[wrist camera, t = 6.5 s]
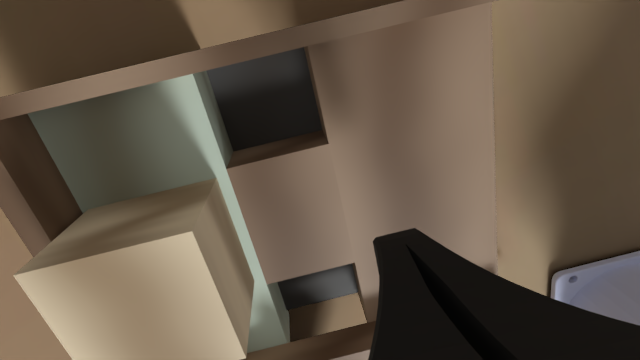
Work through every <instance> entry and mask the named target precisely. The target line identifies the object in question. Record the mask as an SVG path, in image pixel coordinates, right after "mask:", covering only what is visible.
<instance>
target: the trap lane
mask: <svg viewBox="0 0 640 360" xmlns="http://www.w3.org/2000/svg"><path fill="white" fill-rule="evenodd" d="M493 1H497V0H404V1H400V2H396V3H391V4H387V5H383V6H379V7H375V8H371V9H366V10H362V11H358V12H354V13H350V14H346V15H341V16H337V17H333V18H329V19H325V20H321V21H316V22H312V23H308V24H304V25H300V26H296V27H291V28H287V29H283V30H279V31H275V32H270V33H266V34H262V35H258V36H254V37H250V38H245V39H241V40H237V41H233V42H229V43H225V44H220V45H216V46H212V47H208V48H204V49H200V50H195V51H191V52H187V53H183V54H179V55H174V56H170V57H166V58H162V59H158V60H154V61H149V62H145V63H141V64H137V65H133V66H129V67H124V68H120V69H116V70H112V71H108V72H104V73H99V74H95V75H91V76H87V77H83V78H79V79H74V80H70V81H66V82H62V83H58V84H53V85H49V86H45V87H41V88H37V89H33V90H28V91H24V92H20V93H16V94H12V95H8V96H3V97H0V207H1V209H2V210H3V212H4V213H5V215H6V216H7V218H8V219H9V221H10V222H11V224H12V226H13V227H14V229H15V230H16V232H17V233H18V235H19V236H20V238H21V239H22V241H23V242H24V244H25V245H26V247H27V248H28V250H29V251H30V253H31V254H32V256H33V257H35V256H36V255H37V254H38V253H39V252H40V251H42V250H43V249H44V248H45V247H46V246H47V245H48V244H49V243H51V242H52V241H53V240H54V239H55V238H56V237H57V236H59V235H60V234H61V233H62V232H63V231H64V230H65V229H66V228H68V227H69V226H70V225H71V224H72V223H73V222H74V221H75V220H77V219H78V218H79V217H80V216H81V215H82V214H83V213H84V212H86V211H87V210H88V209H92V208H96V207H100V206H104V205H108V204H112V203H116V202H120V201H124V200H128V199H132V198H137V197H141V196H145V195H149V194H153V193H157V192H161V191H165V190H169V189H173V188H177V187H181V186H185V185H189V184H194V183H198V182H202V181H206V180H210V179H214V178H217V180H218V183H219V186H220V188H221V191H222V194H223V197H224V199H225V202H226V205H227V207H228V210H229V213H230V216H231V218H232V221H233V224H234V226H235V229H236V232H237V235H238V237H239V240H240V243H241V246H242V248H243V251H244V254H245V256H246V259H247V262H248V265H249V267H250V270H251V273H252V275H253V278H254V290H253V300H252V309H251V318H250V328H249V337H248V347H247V356H246V358H245V359H241V360H368V358H369V354H370V349H371V345H372V340H373V335H374V330H375V324H376V317H377V309H378V297H379V272H378V267H377V262H376V256H375V251H374V246H373V240H374V239H375V238H376V237H379V236H383V235H387V234H391V233H395V232H399V231H403V230H408V229H412V228H416V229H418V230H419V231H421V232H422V233H424V234H425V235H427V236H429V237H430V238H432V239H433V240H435V241H437V242H438V243H440V244H441V245H443V246H445V247H446V248H448V249H449V250H451V251H453V252H454V253H456V254H458V255H460V256H461V257H463V258H465V259H467V260H468V261H470V262H472V263H474V264H476V265H478V266H480V267H482V268H484V269H486V270H488V271H490V272H491V273H493V274H495V275H497V276H498V268H497V223H496V179H495V135H494V91H493V47H492V2H493ZM357 292H358V293H359V297H360V301H361V304H362V307H363V310H364V314H365V317H366V320H367V323H365V324H361V325H357V326H353V327H349V328H345V329H341V330H337V331H333V332H329V333H325V334H321V335H317V336H313V337H309V338H305V339H301V340H298V341H294V342H290V323H289V312H288V310H289V309H293V308H297V307H301V306H305V305H309V304H313V303H317V302H321V301H325V300H329V299H333V298H337V297H341V296H345V295H349V294H353V293H357Z"/></svg>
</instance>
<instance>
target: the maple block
mask: <svg viewBox="0 0 640 360" xmlns="http://www.w3.org/2000/svg"><path fill="white" fill-rule="evenodd" d="M13 276H14V277H15V278H16V280H17V281H18V283H19V284H20V286H21V287H22V288H23V290H24V291H25V293H26V294H27V296H28V297H29V298H30V300H31V301H32V303H33V304H34V305H35V307H36V308H37V310H38V311H39V313H40V314H41V315H42V317H43V318H44V320H45V321H46V323H47V324H48V325H49V327H50V328H51V330H52V331H53V332H54V334H55V335H56V337H57V338H58V340H59V341H60V342H61V344H62V345H63V347H64V348H65V350H66V351H67V352H68V354H69V355H70V357H71V358H72V359H73V360H241V359H245V358H246V356H247V347H248V337H249V328H250V318H251V309H252V300H253V290H254V278H253V275H252V273H251V270H250V267H249V265H248V262H247V259H246V256H245V254H244V251H243V248H242V246H241V243H240V240H239V237H238V235H237V232H236V229H235V226H234V224H233V221H232V218H231V216H230V213H229V210H228V207H227V205H226V202H225V199H224V197H223V194H222V191H221V188H220V186H219V183H218V180H217V178H214V179H210V180H206V181H202V182H198V183H194V184H189V185H185V186H181V187H177V188H173V189H169V190H165V191H161V192H157V193H153V194H149V195H145V196H141V197H137V198H132V199H128V200H124V201H120V202H116V203H112V204H108V205H104V206H100V207H96V208H92V209H88V210H87V211H86V212H84V213H83V214H82V215H81V216H80V217H79V218H78V219H77V220H75V221H74V222H73V223H72V224H71V225H70V226H69V227H68V228H66V229H65V230H64V231H63V232H62V233H61V234H60V235H59V236H57V237H56V238H55V239H54V240H53V241H52V242H51V243H49V244H48V245H47V246H46V247H45V248H44V249H43V250H42V251H40V252H39V253H38V254H37V255H36V256H35V257H34V258H33V259H31V260H30V261H29V262H28V263H27V264H26V265H25V266H24V267H22V268H21V269H20V270H19V271H18V272H17V273H16V274H14V275H13Z"/></svg>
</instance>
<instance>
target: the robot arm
mask: <svg viewBox="0 0 640 360" xmlns="http://www.w3.org/2000/svg"><path fill="white" fill-rule="evenodd" d="M373 246H374V251H375V256H376V262H377V267H378V272H379V297H378V309H377V317H376V324H375V330H374V335H373V340H372V345H371V349H370V354H369V358H368V360H640V251H637V252H633V253H629V254H625V255H621V256H617V257H613V258H609V259H605V260H601V261H597V262H593V263H589V264H585V265H581V266H577V267H574V268H570V269H566V270H562V271H559V272H556V273H555V274H554V275H553V277H552V283H551V298H550V297H547V296H544V295H542V294H539V293H537V292H534V291H532V290H529V289H527V288H525V287H522V286H520V285H517V284H515V283H513V282H510V281H508V280H506V279H504V278H502V277H500V276H497V275H495V274H493V273H491V272H490V271H488V270H486V269H484V268H482V267H480V266H478V265H476V264H474V263H472V262H470V261H468V260H467V259H465V258H463V257H461V256H460V255H458V254H456V253H454V252H453V251H451V250H449V249H448V248H446V247H445V246H443V245H441V244H440V243H438V242H437V241H435V240H433V239H432V238H430V237H429V236H427V235H425V234H424V233H422V232H421V231H419V230H418V229H416V228H412V229H408V230H403V231H399V232H395V233H391V234H387V235H383V236H379V237H376V238H375V239H374V240H373Z"/></svg>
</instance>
